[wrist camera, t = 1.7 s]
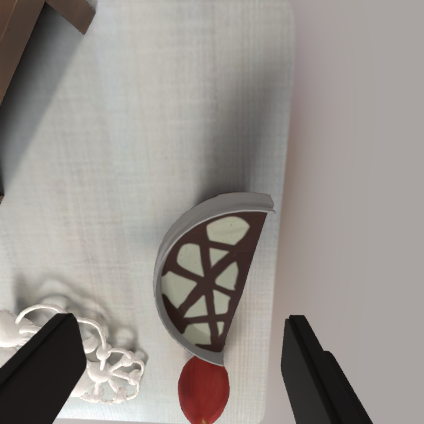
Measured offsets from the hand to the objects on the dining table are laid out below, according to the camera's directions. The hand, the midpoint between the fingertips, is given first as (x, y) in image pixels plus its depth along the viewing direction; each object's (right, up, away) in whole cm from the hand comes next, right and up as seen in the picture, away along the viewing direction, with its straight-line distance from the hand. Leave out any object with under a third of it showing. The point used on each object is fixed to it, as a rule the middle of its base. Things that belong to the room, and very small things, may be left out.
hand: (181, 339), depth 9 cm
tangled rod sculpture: (-17, -12, +18) cm, 28 cm away
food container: (+1, +4, +13) cm, 14 cm away
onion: (+1, -13, +18) cm, 22 cm away
